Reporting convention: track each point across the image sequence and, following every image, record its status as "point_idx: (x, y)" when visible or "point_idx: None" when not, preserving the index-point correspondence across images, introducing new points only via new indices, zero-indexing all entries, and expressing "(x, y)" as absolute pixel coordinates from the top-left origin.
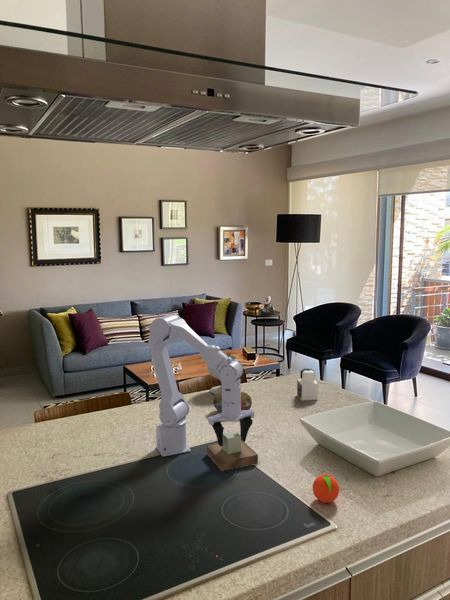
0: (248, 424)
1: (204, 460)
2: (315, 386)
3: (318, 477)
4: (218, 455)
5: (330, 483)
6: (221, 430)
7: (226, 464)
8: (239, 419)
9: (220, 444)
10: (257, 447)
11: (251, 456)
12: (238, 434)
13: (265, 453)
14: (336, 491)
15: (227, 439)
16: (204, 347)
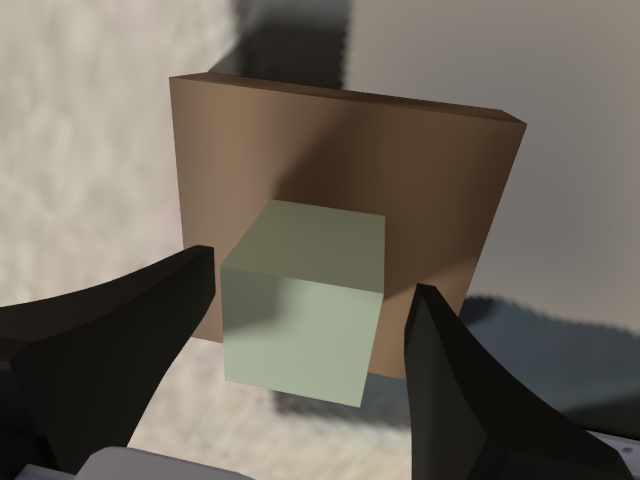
0: (22, 322)
1: (485, 299)
2: None
3: None
4: (462, 238)
5: None
6: (502, 409)
7: (467, 112)
8: (79, 472)
9: (442, 296)
10: (131, 259)
11: (231, 83)
12: (228, 308)
13: (110, 174)
14: None
15: (382, 294)
16: None
